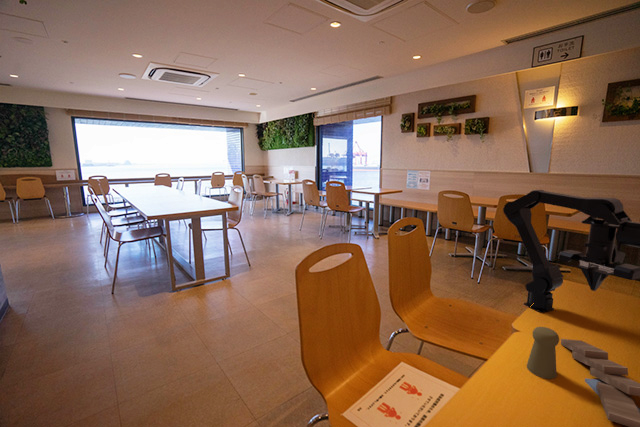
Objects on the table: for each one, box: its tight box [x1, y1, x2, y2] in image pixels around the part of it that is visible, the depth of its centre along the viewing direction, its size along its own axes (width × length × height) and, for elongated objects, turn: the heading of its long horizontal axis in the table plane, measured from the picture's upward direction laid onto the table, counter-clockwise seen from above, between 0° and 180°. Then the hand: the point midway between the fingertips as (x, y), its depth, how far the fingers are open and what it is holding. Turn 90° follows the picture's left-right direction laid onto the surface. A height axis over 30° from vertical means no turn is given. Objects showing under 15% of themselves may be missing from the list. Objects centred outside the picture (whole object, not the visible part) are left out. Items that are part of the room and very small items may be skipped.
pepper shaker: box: [526, 326, 560, 380], centre depth 74 cm, size 6×6×11 cm
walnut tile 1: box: [560, 338, 609, 360], centre depth 80 cm, size 2×5×10 cm
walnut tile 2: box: [571, 350, 629, 376], centre depth 74 cm, size 2×5×10 cm
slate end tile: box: [584, 378, 640, 413], centre depth 66 cm, size 2×5×10 cm
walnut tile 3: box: [589, 366, 640, 397], centre depth 67 cm, size 2×5×10 cm
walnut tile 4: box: [596, 382, 640, 427], centre depth 62 cm, size 2×5×10 cm
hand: (593, 290), depth 92 cm, fingers closed
